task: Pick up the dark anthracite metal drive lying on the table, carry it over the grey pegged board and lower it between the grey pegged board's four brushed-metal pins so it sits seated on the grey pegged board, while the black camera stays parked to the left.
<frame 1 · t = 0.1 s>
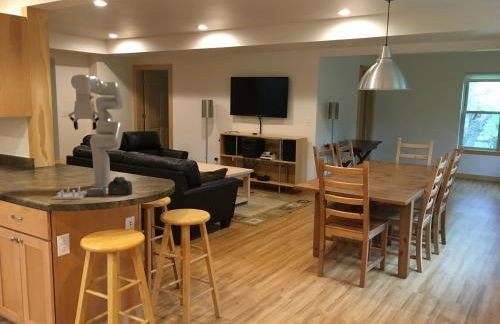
hand: (85, 129, 227), 37 cm above the countertop, tool pointing down, fingers open, 9 cm apart
drive: (96, 195, 232), on the countertop
camera: (120, 194, 235), on the countertop
grey pegged board: (71, 196, 228), on the countertop
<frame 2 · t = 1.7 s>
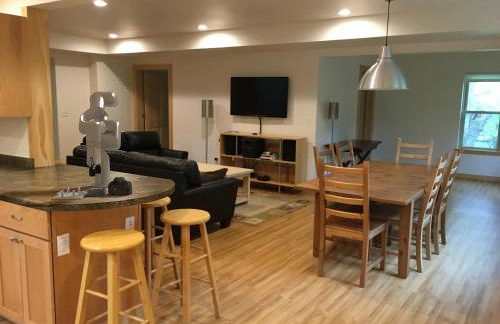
hand: (95, 175, 229), 12 cm above the countertop, tool pointing down, fingers open, 9 cm apart
nothing on the countertop moved.
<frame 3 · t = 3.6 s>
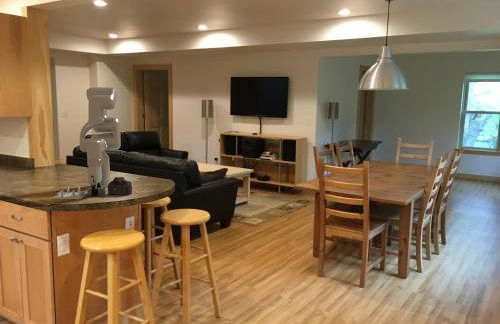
hand: (96, 194, 232), 1 cm above the countertop, tool pointing down, fingers closed on drive, 5 cm apart
drive: (96, 195, 232), on the countertop, touching gripper
everything else where it was.
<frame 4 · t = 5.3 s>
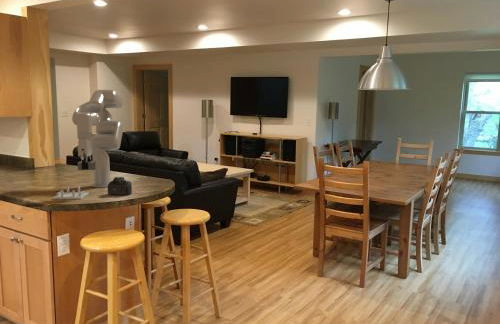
hand: (86, 168, 228), 16 cm above the countertop, tool pointing down, fingers closed on drive, 5 cm apart
drive: (87, 169, 228), point 15 cm above the countertop, touching gripper
everything else where it was.
when the fingers open (4 cm above the countertop, at t = 7.1 s): drive drops 3 cm, resting on grey pegged board.
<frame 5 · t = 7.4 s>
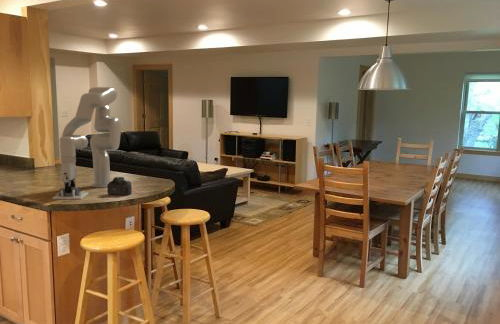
hand: (70, 191, 228), 3 cm above the countertop, tool pointing down, fingers open, 5 cm apart
drive: (70, 194, 228), point 1 cm above the countertop, touching gripper, grey pegged board
everything else where it was.
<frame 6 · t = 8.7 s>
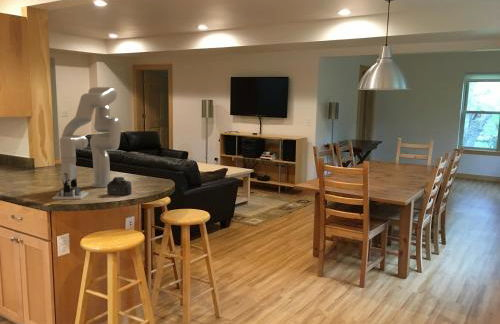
hand: (70, 190, 228), 4 cm above the countertop, tool pointing down, fingers open, 9 cm apart
drive: (70, 194, 228), point 1 cm above the countertop, touching grey pegged board
everything else where it was.
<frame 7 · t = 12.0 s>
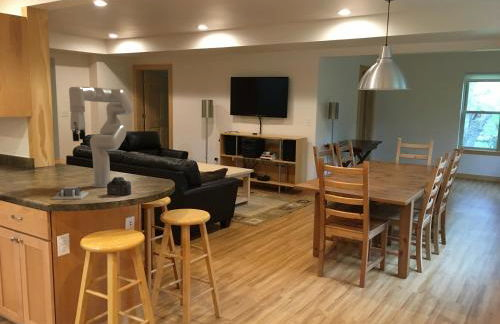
hand: (79, 140, 232), 30 cm above the countertop, tool pointing down, fingers open, 9 cm apart
nothing on the countertop moved.
at the end: drive 0.4 cm off-centre on the grey pegged board, point 1.0 cm above the grey pegged board's base; drive tilted 0°; the gripper is holding nothing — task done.
